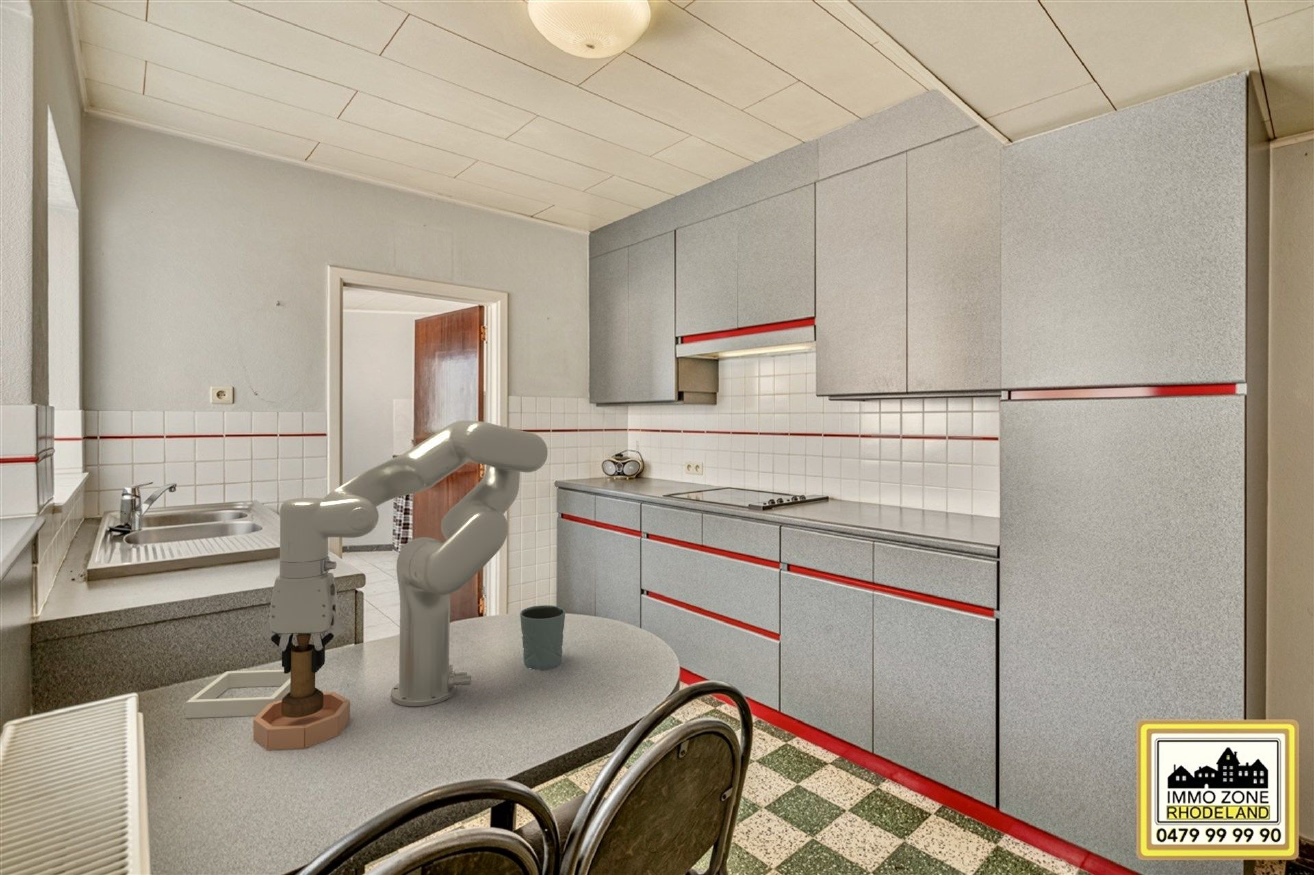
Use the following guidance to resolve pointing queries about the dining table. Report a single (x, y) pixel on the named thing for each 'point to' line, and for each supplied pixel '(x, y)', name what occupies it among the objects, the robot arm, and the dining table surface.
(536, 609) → the drinking glass
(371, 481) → the robot arm
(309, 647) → the dark brown knobbed post
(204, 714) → the open rectangular frame
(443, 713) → the dining table surface
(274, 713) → the terracotta bowl
